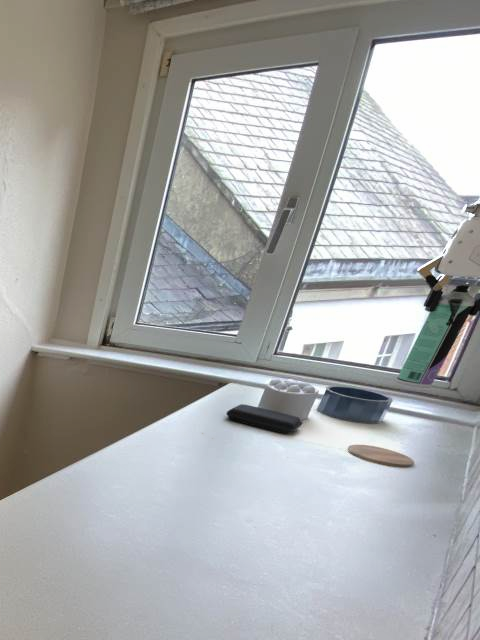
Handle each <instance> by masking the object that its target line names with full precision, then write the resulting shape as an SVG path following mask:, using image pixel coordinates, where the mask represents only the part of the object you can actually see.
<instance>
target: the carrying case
mask: <svg viewBox="0 0 480 640" xmlns="http://www.w3.org/2000/svg"><path fill="white" fill-rule="evenodd" d="M226 416H227V418H228V419H229V420H231V421H234V422H238V423H241V424H246V425H249V426H253V427H257V428H261V429H265V430H268V431H273V432H277V433H281V434H291V433H292V432H295V431H296V430H297V429H299V428H301V427H302V426H303V421H302V420H300V418H298V417H295V416H292V415H287V414H283V413H279V412H275V411H271V410H267V409H262V408H258V406H253V405H250V404H238V405H236V406H234V407H232V408H231V409H228V410H227V411H226Z"/></svg>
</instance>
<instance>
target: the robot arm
mask: <svg viewBox="0 0 480 640" xmlns="http://www.w3.org/2000/svg"><path fill="white" fill-rule="evenodd" d="M461 213H467V214H469V215H468V217H469V218H468V219H463V221H461V223H460V224H459V225H458V227H457V228H456V229H455V231H454V232H453V234H452V236H451V237H450V239H449V240H448V242H447V243H446V245H445V247H444V248H443V250H442V251H441V254H440V255H438V256H437V257H436V258H433V259H432V260H430V261H428V262H427V263H425V264H423V265H421V266H420V267H418V268H417V269H416V272H417V273H418V274H419V275H420V277H422V279H423V280H424V281H425V283H426V284H427V286H428V287H429V289H430V290H429V293H428V294H427V296H426V298H425V301H424V303H423V307H424V311H426V312H429V313H430V312H432V311H434V310H435V308H436V306H437V304H438V302H439V300H440V298H441V296H442V295H444V291H443V288H444V287H445V285H447V283H448V282H450V281H451V279H452V278H454V277H461V278H463V277H464V278H475V279H477V278H478V279H480V197H479V198H478V200H477V201H476V202H474V203H471V204H465V205H464V207H463V208H462V211H461ZM432 270H434V272H435V273H437V274H439V276H437V278H436V276H435V275H434V274H433V273H432ZM473 298H474V299H476V301H475V302H474V303H475V304H474V306H473V308H472V310H471V312H470V314H469V316H471V317H472V316H473V317H476V316H477V315H478V314H479V312H480V292H477V293H475V295H474V297H473Z"/></svg>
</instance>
